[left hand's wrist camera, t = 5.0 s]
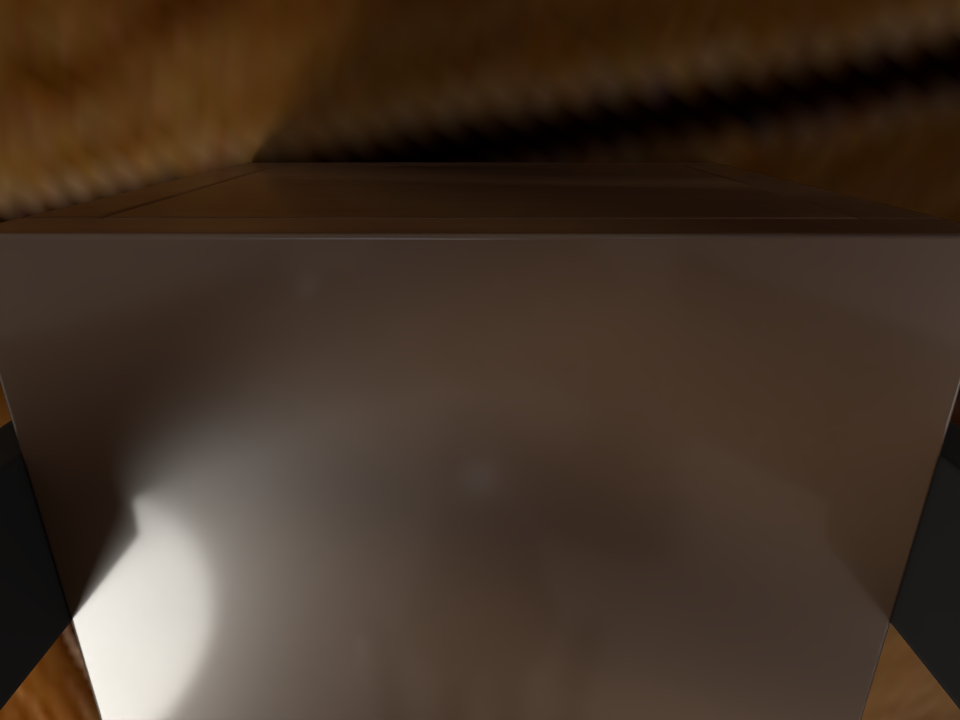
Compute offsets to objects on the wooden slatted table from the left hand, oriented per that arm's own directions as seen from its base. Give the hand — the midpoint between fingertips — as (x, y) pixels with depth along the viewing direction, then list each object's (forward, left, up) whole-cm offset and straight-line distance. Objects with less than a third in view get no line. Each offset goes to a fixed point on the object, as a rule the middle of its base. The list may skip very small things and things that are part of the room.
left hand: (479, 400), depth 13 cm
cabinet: (+1, +6, -5) cm, 8 cm away
